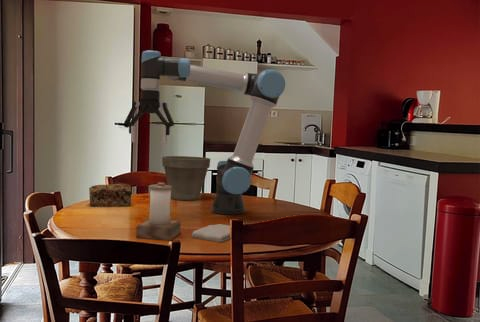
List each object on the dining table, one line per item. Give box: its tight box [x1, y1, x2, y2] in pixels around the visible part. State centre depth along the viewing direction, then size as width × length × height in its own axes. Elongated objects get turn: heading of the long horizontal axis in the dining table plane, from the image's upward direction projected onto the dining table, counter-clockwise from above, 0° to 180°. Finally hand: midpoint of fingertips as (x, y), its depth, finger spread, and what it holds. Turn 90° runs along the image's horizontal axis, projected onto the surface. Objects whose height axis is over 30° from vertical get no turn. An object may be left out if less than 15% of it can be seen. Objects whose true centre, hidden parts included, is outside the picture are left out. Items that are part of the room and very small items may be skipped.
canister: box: [148, 181, 172, 225], centre depth 164 cm, size 7×7×14 cm
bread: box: [88, 183, 132, 208], centre depth 219 cm, size 19×11×10 cm, turn 107°
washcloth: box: [191, 223, 231, 243], centre depth 168 cm, size 12×18×3 cm, turn 153°
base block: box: [136, 218, 181, 241], centre depth 165 cm, size 12×12×4 cm
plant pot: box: [161, 155, 211, 201], centre depth 247 cm, size 25×25×22 cm
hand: (148, 142), depth 192 cm, fingers open, 13 cm apart
